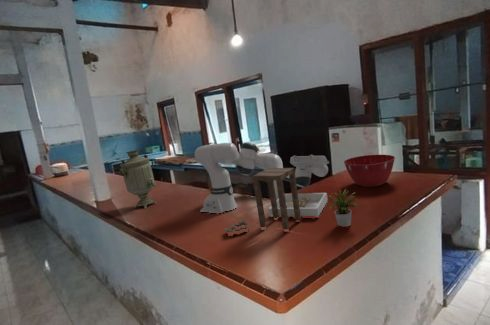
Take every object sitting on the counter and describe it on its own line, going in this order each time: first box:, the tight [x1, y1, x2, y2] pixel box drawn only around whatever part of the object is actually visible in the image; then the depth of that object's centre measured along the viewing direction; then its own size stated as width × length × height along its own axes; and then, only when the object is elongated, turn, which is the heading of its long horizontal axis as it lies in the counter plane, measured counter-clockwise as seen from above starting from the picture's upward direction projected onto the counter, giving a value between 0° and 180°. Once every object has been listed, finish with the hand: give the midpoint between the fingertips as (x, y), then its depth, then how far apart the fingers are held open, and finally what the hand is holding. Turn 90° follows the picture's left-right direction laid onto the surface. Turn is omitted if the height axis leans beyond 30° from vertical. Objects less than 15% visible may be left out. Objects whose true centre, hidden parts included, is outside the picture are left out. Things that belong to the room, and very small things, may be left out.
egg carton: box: [224, 220, 250, 232], centre depth 143 cm, size 11×8×4 cm
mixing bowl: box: [343, 154, 396, 188], centre depth 184 cm, size 28×28×16 cm
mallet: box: [289, 196, 310, 208], centre depth 162 cm, size 14×6×4 cm, turn 138°
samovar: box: [114, 149, 158, 210], centre depth 213 cm, size 30×26×40 cm
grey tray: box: [268, 192, 329, 218], centre depth 160 cm, size 25×24×5 cm
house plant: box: [324, 188, 358, 227], centre depth 131 cm, size 14×14×16 cm
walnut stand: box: [252, 167, 302, 230], centre depth 141 cm, size 14×14×26 cm
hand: (302, 156), depth 164 cm, fingers open, 8 cm apart
